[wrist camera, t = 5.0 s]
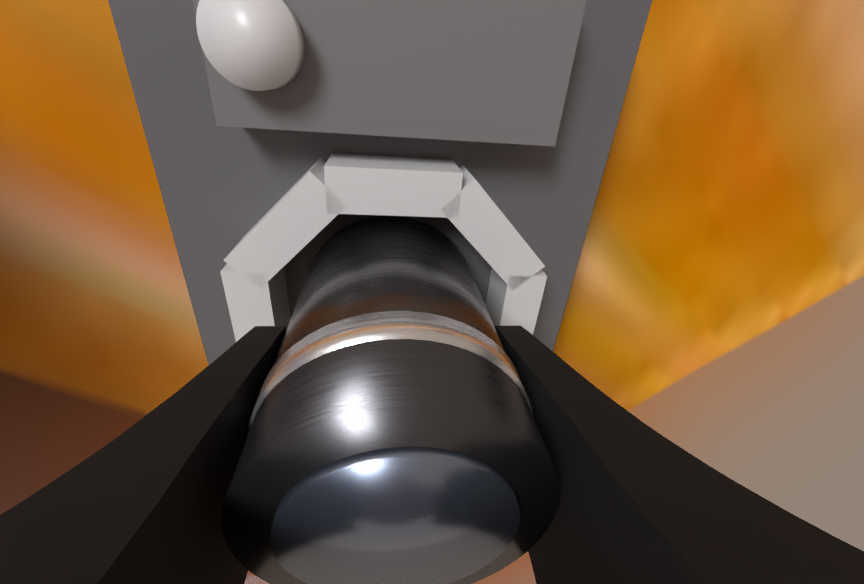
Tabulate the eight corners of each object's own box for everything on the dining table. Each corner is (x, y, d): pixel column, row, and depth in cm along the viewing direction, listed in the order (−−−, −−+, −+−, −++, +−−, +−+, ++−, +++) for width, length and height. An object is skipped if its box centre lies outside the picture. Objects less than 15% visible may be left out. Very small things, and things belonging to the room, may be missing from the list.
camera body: (258, 427, 16) (222, 527, 13) (151, -66, 9) (-17, -166, 5) (505, 418, 18) (536, 506, 14) (604, -12, 10) (729, -61, 6)
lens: (319, 366, 11) (262, 632, 6) (287, 218, 9) (148, 440, 4) (470, 353, 12) (543, 593, 6) (477, 209, 9) (602, 397, 4)
